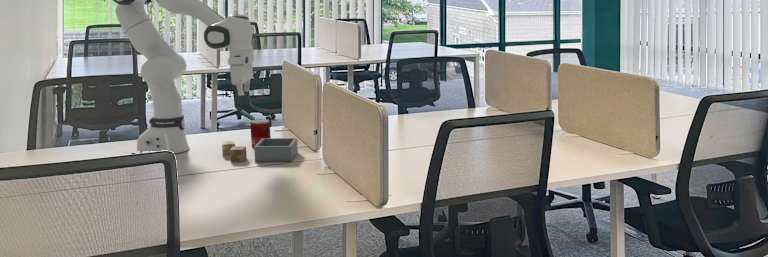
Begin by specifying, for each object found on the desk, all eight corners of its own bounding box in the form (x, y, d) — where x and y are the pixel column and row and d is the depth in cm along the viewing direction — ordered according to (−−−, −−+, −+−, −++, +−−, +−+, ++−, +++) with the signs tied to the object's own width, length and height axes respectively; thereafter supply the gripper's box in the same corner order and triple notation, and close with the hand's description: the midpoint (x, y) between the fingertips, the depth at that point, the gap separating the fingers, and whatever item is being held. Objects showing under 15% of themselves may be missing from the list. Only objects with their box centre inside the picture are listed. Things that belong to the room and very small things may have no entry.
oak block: (222, 156, 281) (221, 144, 280) (222, 153, 286) (222, 141, 285) (235, 156, 282) (235, 143, 281) (235, 153, 287) (234, 140, 286)
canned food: (267, 149, 292) (265, 122, 289) (248, 148, 293) (247, 122, 291) (273, 144, 299) (272, 118, 297) (255, 144, 301) (254, 118, 298)
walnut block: (230, 162, 273) (229, 149, 272) (233, 159, 278) (233, 146, 277) (243, 162, 272) (242, 149, 271) (246, 158, 277) (245, 146, 276)
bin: (255, 162, 272) (254, 146, 270) (262, 153, 285) (262, 138, 284) (291, 161, 271) (291, 146, 270) (297, 152, 285) (297, 138, 283)
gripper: (240, 54, 284) (242, 89, 287) (226, 60, 264) (229, 97, 267) (255, 54, 283) (258, 88, 286) (243, 60, 263) (246, 97, 266)
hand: (244, 93), depth 276 cm, fingers open, 8 cm apart
